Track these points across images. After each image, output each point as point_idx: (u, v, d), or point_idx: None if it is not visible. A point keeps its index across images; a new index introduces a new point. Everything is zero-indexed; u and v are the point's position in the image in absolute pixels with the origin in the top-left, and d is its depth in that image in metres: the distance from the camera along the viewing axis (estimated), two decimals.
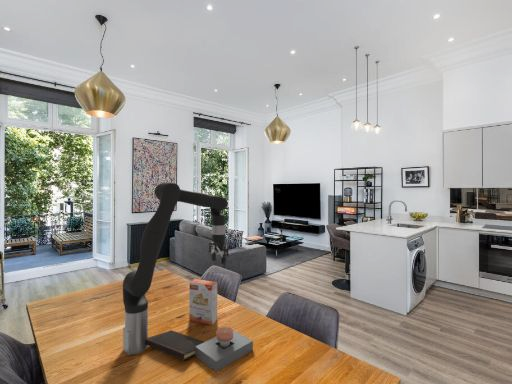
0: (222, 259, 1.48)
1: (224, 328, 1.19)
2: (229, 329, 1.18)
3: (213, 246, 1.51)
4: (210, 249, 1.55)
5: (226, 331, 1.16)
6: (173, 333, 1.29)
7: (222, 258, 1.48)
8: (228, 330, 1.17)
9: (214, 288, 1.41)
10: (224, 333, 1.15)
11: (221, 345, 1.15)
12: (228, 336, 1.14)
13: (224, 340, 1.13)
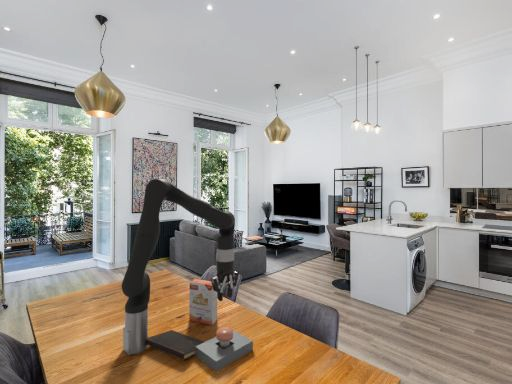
0: (231, 291, 1.18)
1: (224, 328, 1.19)
2: (229, 329, 1.18)
3: (224, 278, 1.14)
4: (218, 287, 1.12)
5: (226, 331, 1.16)
6: (173, 333, 1.29)
7: (231, 290, 1.18)
8: (228, 330, 1.17)
9: None
10: (224, 333, 1.15)
11: (221, 345, 1.15)
12: (228, 336, 1.14)
13: (224, 340, 1.13)
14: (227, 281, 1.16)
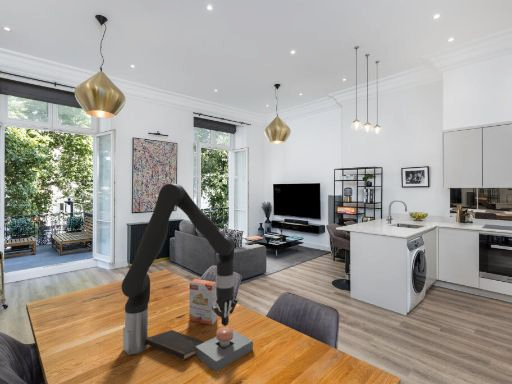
0: (227, 319, 1.16)
1: (224, 328, 1.19)
2: (229, 329, 1.18)
3: (225, 305, 1.14)
4: (221, 312, 1.14)
5: (226, 331, 1.16)
6: (173, 333, 1.29)
7: (227, 317, 1.16)
8: (228, 330, 1.17)
9: (214, 288, 1.41)
10: (224, 333, 1.15)
11: (221, 345, 1.15)
12: (228, 336, 1.14)
13: (224, 340, 1.13)
14: None
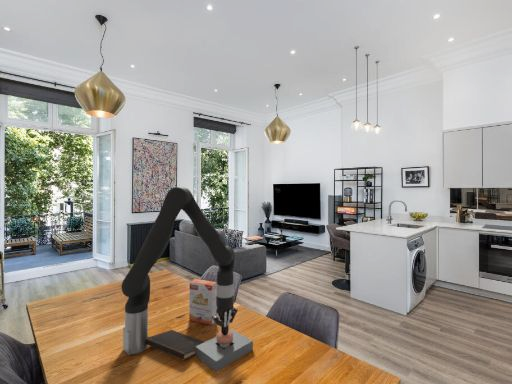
0: (227, 328, 1.16)
1: None
2: (229, 332, 1.18)
3: (225, 314, 1.14)
4: (221, 322, 1.14)
5: None
6: (173, 333, 1.29)
7: (227, 327, 1.16)
8: (228, 333, 1.17)
9: (214, 288, 1.41)
10: (224, 336, 1.15)
11: None
12: (228, 339, 1.14)
13: (224, 343, 1.13)
14: None
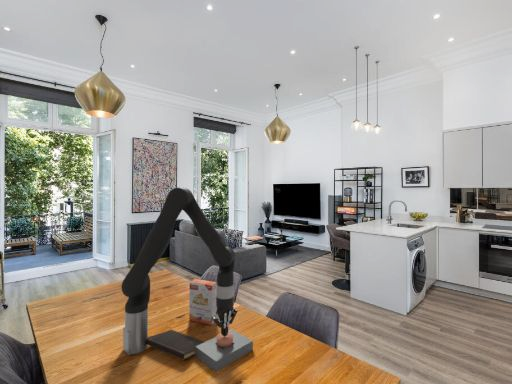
0: (227, 329, 1.16)
1: None
2: (229, 334, 1.18)
3: (224, 315, 1.14)
4: (221, 323, 1.14)
5: (226, 336, 1.16)
6: (173, 333, 1.29)
7: (227, 328, 1.16)
8: (228, 335, 1.17)
9: (214, 288, 1.41)
10: (224, 338, 1.15)
11: None
12: (228, 341, 1.14)
13: (224, 345, 1.13)
14: None
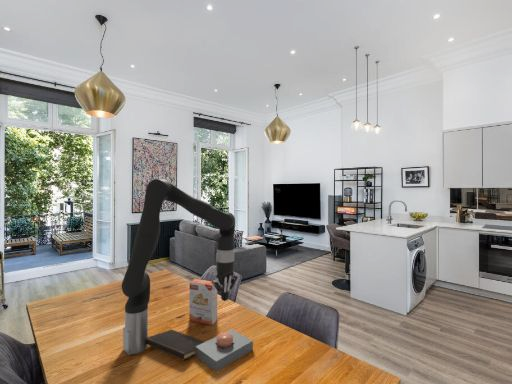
0: (227, 294, 1.16)
1: (224, 333, 1.19)
2: (229, 334, 1.18)
3: (225, 280, 1.14)
4: (221, 287, 1.13)
5: (226, 336, 1.16)
6: (173, 332, 1.29)
7: (227, 293, 1.16)
8: (228, 335, 1.17)
9: (214, 288, 1.41)
10: (224, 338, 1.15)
11: None
12: (228, 341, 1.14)
13: (224, 345, 1.13)
14: None
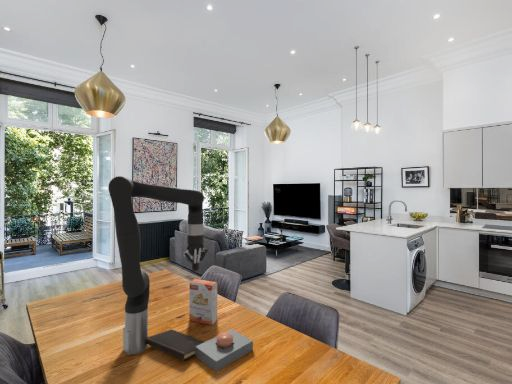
0: (197, 265, 1.26)
1: (224, 333, 1.19)
2: (229, 334, 1.18)
3: (194, 251, 1.24)
4: (191, 258, 1.24)
5: (226, 336, 1.16)
6: (173, 332, 1.29)
7: (197, 264, 1.26)
8: (228, 335, 1.17)
9: (214, 288, 1.41)
10: (224, 338, 1.15)
11: None
12: (228, 341, 1.14)
13: (224, 345, 1.13)
14: None
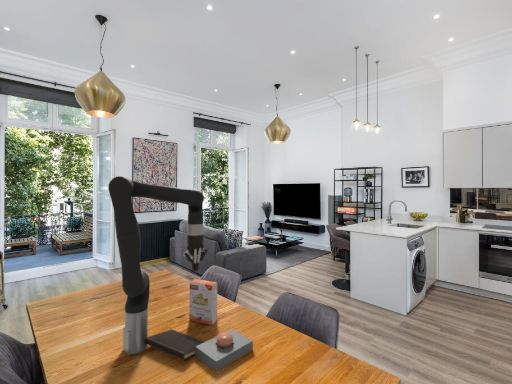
0: (197, 265, 1.26)
1: (224, 333, 1.19)
2: (229, 334, 1.18)
3: (194, 251, 1.24)
4: (191, 258, 1.24)
5: (226, 336, 1.16)
6: (173, 332, 1.29)
7: (197, 264, 1.26)
8: (228, 335, 1.17)
9: (214, 288, 1.41)
10: (224, 338, 1.15)
11: None
12: (228, 341, 1.14)
13: (224, 345, 1.13)
14: None
